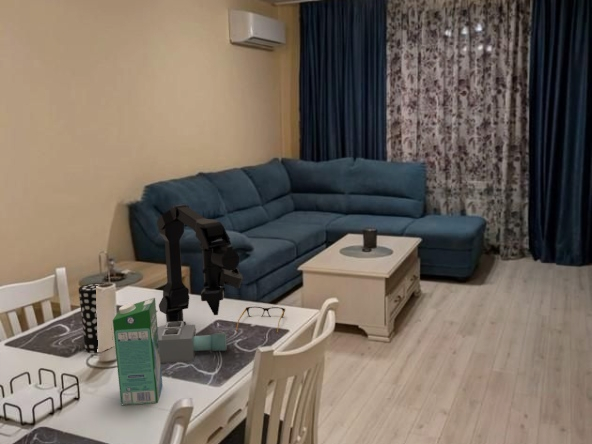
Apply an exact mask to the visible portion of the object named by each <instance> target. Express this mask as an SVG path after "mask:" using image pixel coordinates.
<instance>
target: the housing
mask: <svg viewBox="0 0 592 444" xmlns="http://www.w3.org/2000/svg"><path fill="white" fill-rule="evenodd" d="M178 322H180V327H169V323H170V322H166V325H165V326H158V338H159V350H160V361H161V364H162V363H163V364H164V363H179V362H181V363H182V362H194V358H195V355H196V351H194V348H193V336H197V328H196V324H185V325H184V322H185V321H184V320H183V321H178ZM172 328H174V329H177V334H171V335H166V330H168V329H172Z"/></svg>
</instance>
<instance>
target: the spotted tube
mask: <svg viewBox="0 0 592 444" xmlns="http://www.w3.org/2000/svg"><path fill="white" fill-rule="evenodd" d="M102 284H105V282H104V283H103V282H94V283H87V284H84V285H82V286H79V287H78V297H79V298H78V299H79V306H80V307H79V308H80V314H81V315H80V316H81V324H82V334H83V341H84V349H85V352H87V353H89V354H98V353H97V349H98V340H97V314H96V286H98V285H102Z"/></svg>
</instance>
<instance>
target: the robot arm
mask: <svg viewBox="0 0 592 444" xmlns="http://www.w3.org/2000/svg"><path fill="white" fill-rule="evenodd" d="M156 225H157V229H158V233H159V235H160V236H161V237H162V239H163V240H164V249H165V251H164V252H165V261H166V262H165V266H166V268H165V269H166V279H167V280H166V284H165V285H164V288H163V290H162V297H161V300H160V301H159V304H158V309H159V312H161V313H163V314H165V320H166V321H165V322H166V323H167V322H173V321H184V310H186V309H189V304H190V295H189V288H188V287H187V286H186V285H185V284H184V282H183V275H182V274H183V273H182V259H181V258H182V257H181V256H182V255H181V254H182V253H181V238H182V237H183V235H184V234H185V226H187V227H189V228H190V229H191V230H192V231H194V232H195V238H197V239H198V241H199V242H200V243H199V245H198V247H199V248H200V249H201V253H202V264H203V265H202V274H203V280H204V282H203V287H204V288H203V289H202V290H201V293H200V299H201V300H200V301H201V302H206V303H207V305H208V307H209V308H210V310H211V312H212V314H213V316H218V315H219V310H220V304H221V303H220V302H221V301H223V300H224V298H225V292H226V287H225V285H228V286H230V287H234V289H240V288H241V283H242V280H243V276H244V275H243V274H242V273H240V270H239V267H238V265H239V262H240V256H239V254H238V253H237V252H236V251H235V250H233V246H232V243H231V240H230V239H231V238H230V237H229V236H230V235H228V233H227V231H226V229H225V226H224V224H223V223H222V222H221V221H219V220H216V219H214V218H213V219H212V218H205V217H204V216H202V215H201V214H199V213H197V212H196V211H195V210H193V209H192V208H190V206H189V205H188V204H178V205H174V206H172V207H171V208H170V209H169V210H168V211H165V212H164V213H162V214H161V215H160V216H159V217H158V218H157V221H156ZM237 267H238V268H237ZM184 325H187V322H186V321H184Z"/></svg>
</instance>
